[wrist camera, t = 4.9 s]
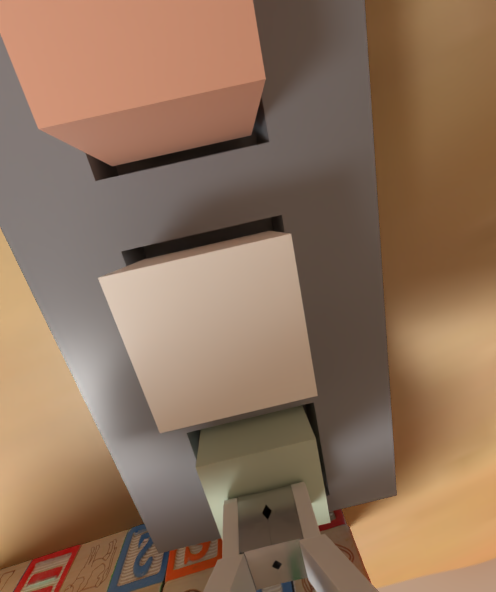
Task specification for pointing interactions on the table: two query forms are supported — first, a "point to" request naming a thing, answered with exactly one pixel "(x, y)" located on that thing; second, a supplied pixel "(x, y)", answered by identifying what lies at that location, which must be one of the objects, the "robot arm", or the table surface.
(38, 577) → the stack of blocks
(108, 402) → the button panel
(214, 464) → the sage button
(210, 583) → the robot arm
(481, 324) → the table surface
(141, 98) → the terracotta button
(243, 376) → the cream button
